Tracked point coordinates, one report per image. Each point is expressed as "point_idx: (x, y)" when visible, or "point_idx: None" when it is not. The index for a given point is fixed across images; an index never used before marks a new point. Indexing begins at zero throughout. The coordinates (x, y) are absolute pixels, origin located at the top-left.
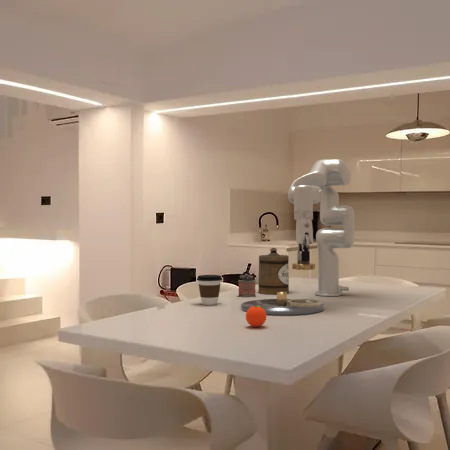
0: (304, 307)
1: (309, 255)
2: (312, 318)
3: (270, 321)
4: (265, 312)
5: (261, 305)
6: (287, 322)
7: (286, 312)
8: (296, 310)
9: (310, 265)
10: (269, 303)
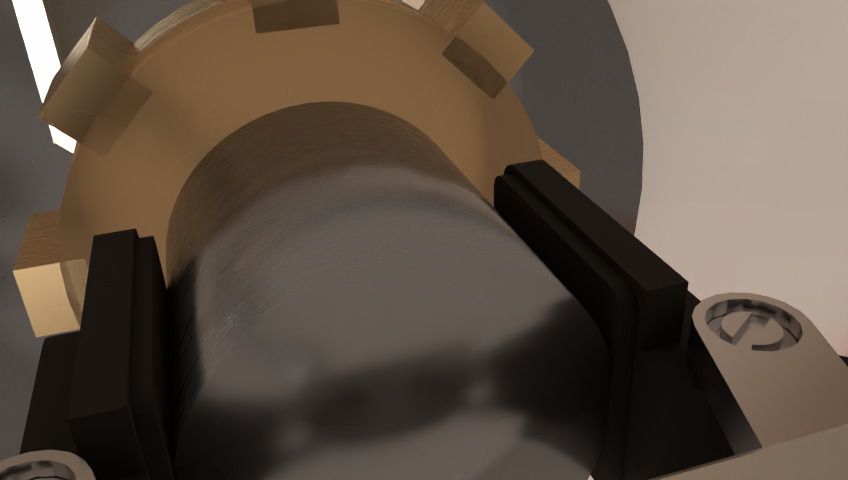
0: None
1: (613, 221)
2: (764, 22)
3: None
4: None
5: None
6: (832, 211)
7: (632, 222)
8: (599, 143)
9: (516, 101)
10: None
